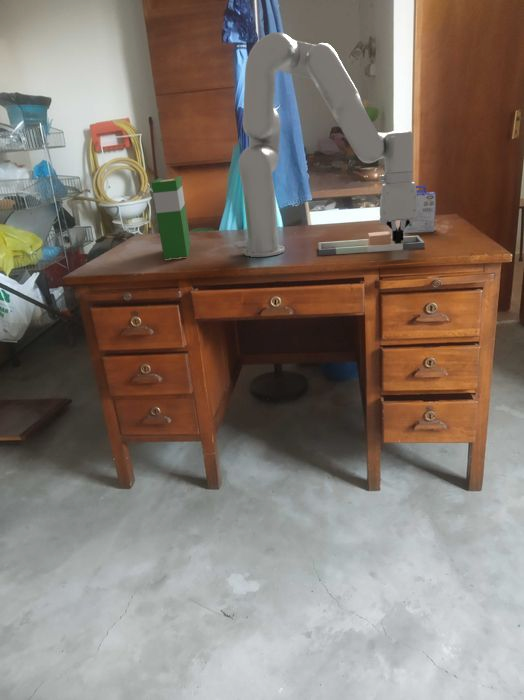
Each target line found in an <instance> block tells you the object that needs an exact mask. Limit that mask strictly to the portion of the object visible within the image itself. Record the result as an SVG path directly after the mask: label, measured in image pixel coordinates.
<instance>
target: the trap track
mask: <svg viewBox="0 0 524 700" xmlns="http://www.w3.org/2000/svg"><path fill="white" fill-rule="evenodd" d="M425 243H426V242H425V241H424V240H423V239H422V238H421V237H420V236H419V235H407V236H403V241H401V244H395V243H394V241H392V236H391V244H386V245H372V246H368V238H367V239H366V238H365V239H364V238H363V239H351V240H337V241H325V242H324V241H323V242H318V256H327V255H328V256H330V255H342V254H343V255H344V254H345V255H346V254H358V253H359V254H360V253H372V252H373V253H374V252H390V251H403V250H416V249H419V250H421V249H425Z"/></svg>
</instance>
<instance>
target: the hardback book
mask: <svg viewBox="0 0 524 700" xmlns="http://www.w3.org/2000/svg"><path fill="white" fill-rule="evenodd" d="M150 185H151V188H152V189H151V190H152V195H153V201H154V208H155V213H156V219H157V225H158V230H159V231H158V232H159V237H160V242H161V244H160V245H161V248H162V249H161V251H162V254H163V255H162V256H163V260H164V259H169V258H179V257H187V256H188V257H189V255H188V253H189V254H190V252H189V249H190V246H191V247H192V244H191V237H190V230H189V223H188V217H187V209H186V203H185V195H184V189H183V182H182V176H181V175H178V176H177V177H175V178H171V179H170V178H169V179H168V178H167V179H163V178H162V177H159V178H156V179H155V180H154V181H152V182H151V183H150ZM190 250H191V249H190Z"/></svg>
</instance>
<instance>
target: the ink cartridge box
mask: <svg viewBox="0 0 524 700" xmlns="http://www.w3.org/2000/svg"><path fill="white" fill-rule="evenodd" d="M426 187H427V186H426V185H425V184H424V185H416V192H417V221H416V222H413V223H410V224H409V225H408V226H407V227H406V228H405V229H404V230H403V234H404V233H405V234H406V233H409V234H410V233H431V232H435V227H436V226H435V225H436V208H437V207H436V206H437V204H436V202H437V201H436V199H437V198H436V196H437V194H436V192H435V191H430V192H427V188H426ZM420 188H422V189H420Z"/></svg>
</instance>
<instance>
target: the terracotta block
mask: <svg viewBox="0 0 524 700" xmlns="http://www.w3.org/2000/svg"><path fill="white" fill-rule="evenodd" d="M367 236H368V237H367V239H368V246H372V245H386V244H391V237H392V234H391V233H390V231H387V230H386V231H376V232H375V231H374V232H368V233H367Z"/></svg>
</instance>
